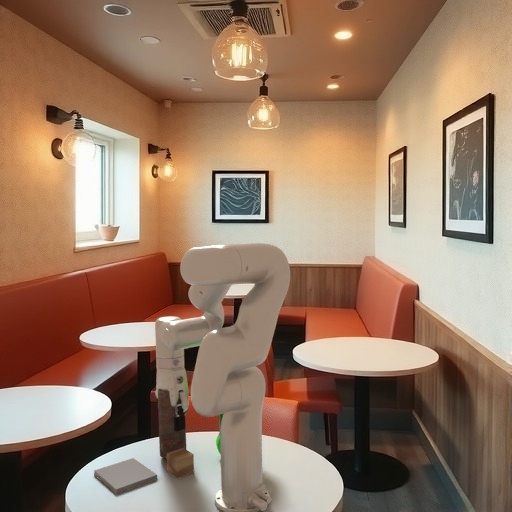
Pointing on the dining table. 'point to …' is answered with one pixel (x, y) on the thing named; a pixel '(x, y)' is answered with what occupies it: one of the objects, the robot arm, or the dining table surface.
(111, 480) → the slate board
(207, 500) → the dining table surface
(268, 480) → the dining table surface
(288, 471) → the dining table surface
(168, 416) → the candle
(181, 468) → the walnut block
